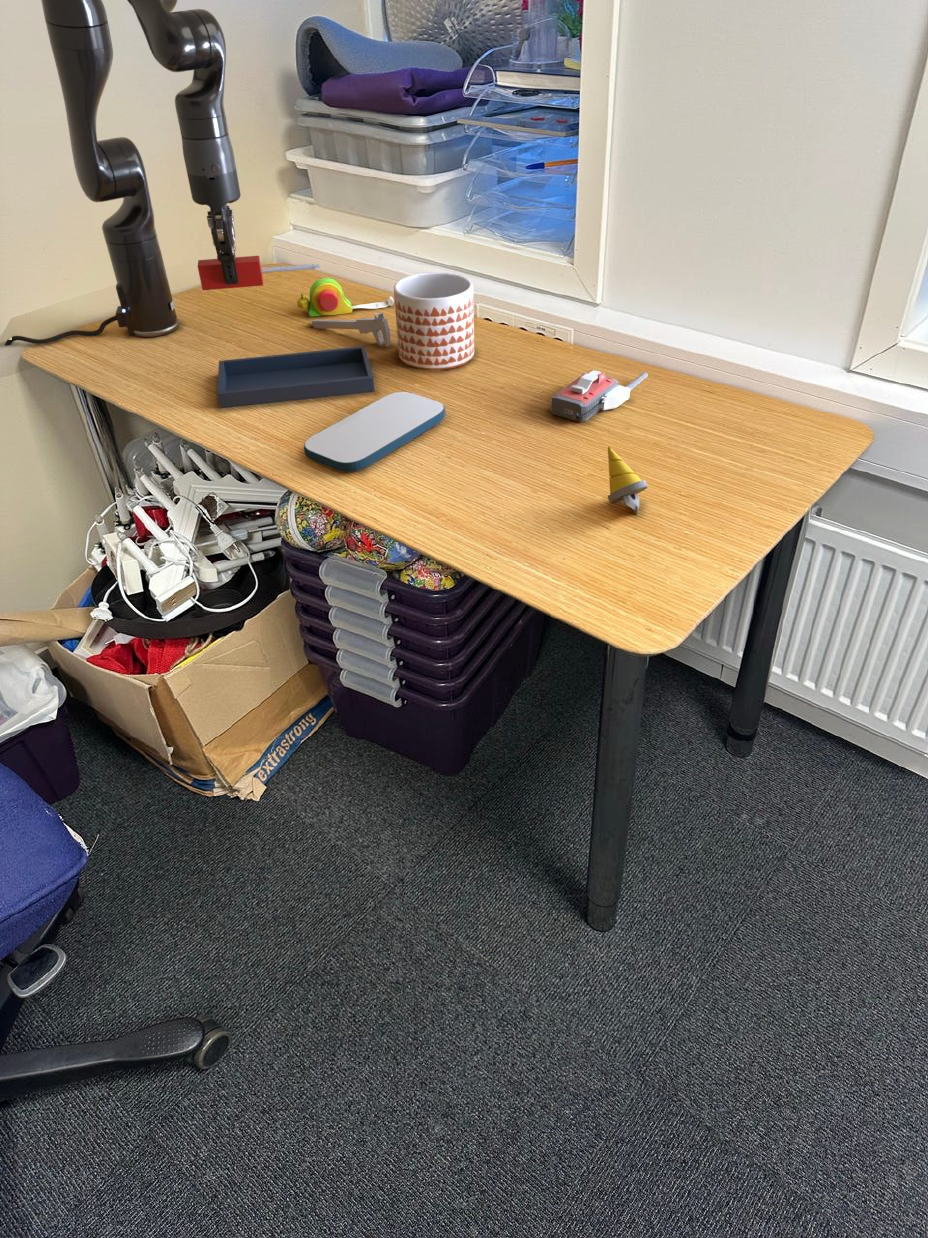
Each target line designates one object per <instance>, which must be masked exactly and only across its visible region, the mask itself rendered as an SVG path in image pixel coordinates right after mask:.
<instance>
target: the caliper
mask: <svg viewBox="0 0 928 1238" xmlns="http://www.w3.org/2000/svg"><path fill="white" fill-rule="evenodd" d="M308 326H311V327H312V326H313V329H320V330H321V329H325V330H354V331H355V330H358V332H359V334H360V335H363V334H364V335H367V334H370V333H372V335H373V337H374V339H375V341H376V343H377V346H381V345H383V344H384V345H385V347H386V348H388V347H390V346H391V345H392V339H391V328H390V326H389V322H388V319H387V318H385V316H384V312H381V313H379V312H376V313H374V314H373V317H360V318H357V319H356V320H355V319H354V320H353V319H317V318H316V319H313V320H312V321H311V322H310V323H308Z"/></svg>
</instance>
